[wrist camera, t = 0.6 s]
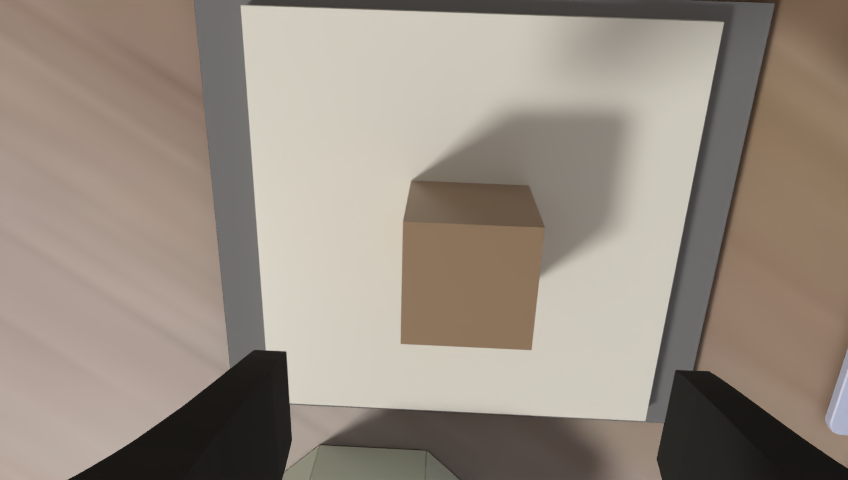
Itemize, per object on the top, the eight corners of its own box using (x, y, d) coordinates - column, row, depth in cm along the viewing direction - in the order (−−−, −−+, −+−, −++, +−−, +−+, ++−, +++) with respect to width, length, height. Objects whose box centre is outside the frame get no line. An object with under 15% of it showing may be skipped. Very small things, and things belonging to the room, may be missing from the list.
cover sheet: (715, 20, 18) (788, 31, 14) (640, 410, 22) (679, 497, 19) (247, 4, 18) (192, 11, 14) (273, 391, 23) (238, 474, 19)
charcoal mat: (768, 2, 18) (775, 3, 17) (677, 416, 23) (681, 424, 23) (197, -17, 18) (192, -17, 18) (237, 394, 23) (233, 401, 23)
